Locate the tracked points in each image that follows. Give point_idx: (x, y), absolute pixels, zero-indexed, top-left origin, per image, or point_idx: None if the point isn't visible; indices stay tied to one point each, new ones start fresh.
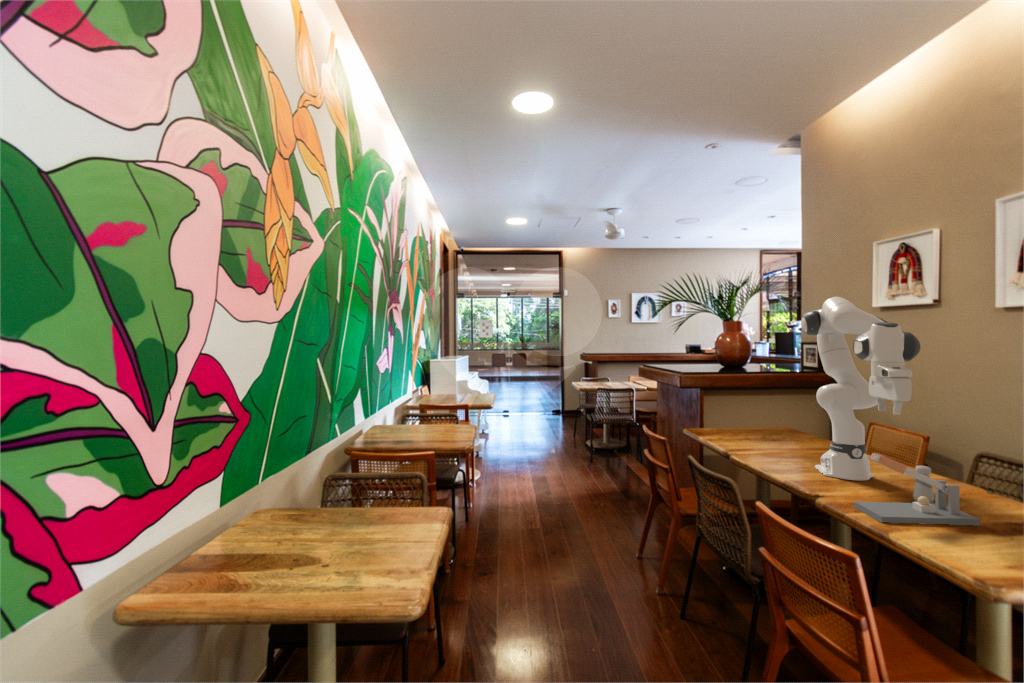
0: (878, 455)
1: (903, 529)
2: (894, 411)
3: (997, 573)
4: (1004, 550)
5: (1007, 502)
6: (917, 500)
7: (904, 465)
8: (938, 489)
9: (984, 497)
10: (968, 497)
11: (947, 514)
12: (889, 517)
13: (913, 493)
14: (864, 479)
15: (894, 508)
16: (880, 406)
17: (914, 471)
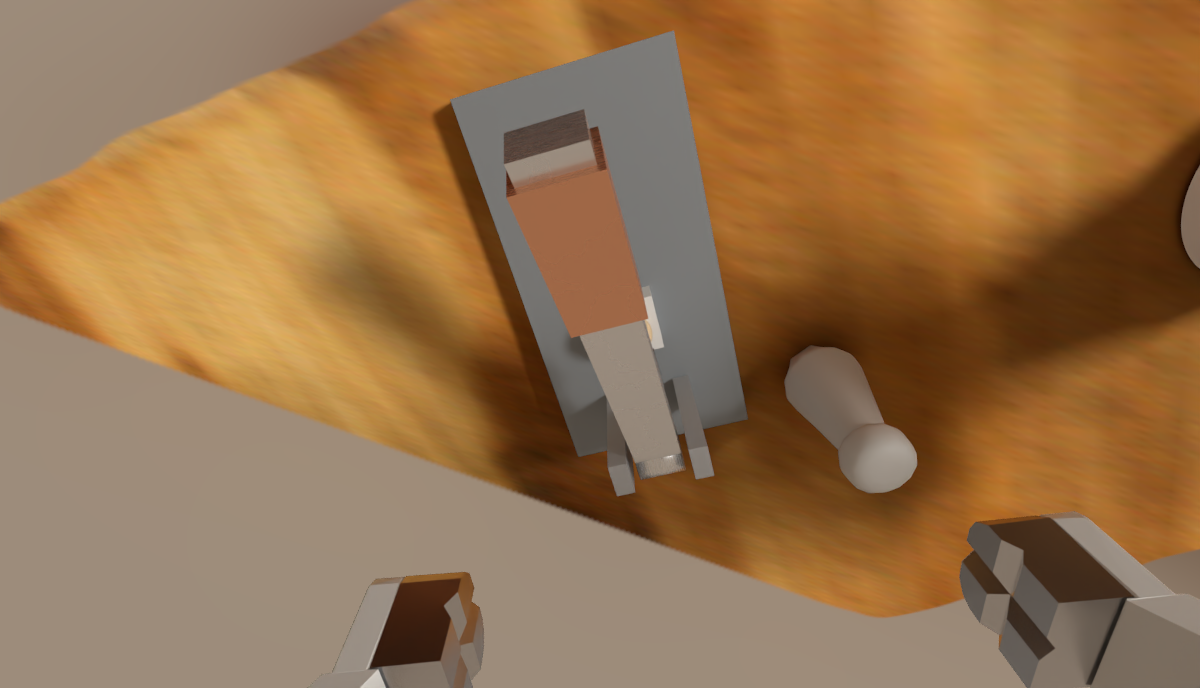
0: (505, 162)
1: (409, 167)
2: (355, 625)
3: (100, 310)
4: (346, 411)
5: (878, 607)
6: (807, 351)
7: (566, 324)
8: (683, 425)
9: (930, 575)
10: (924, 534)
11: (598, 380)
12: (463, 136)
13: (836, 355)
14: (1188, 240)
15: None
16: (1051, 600)
17: (591, 362)
